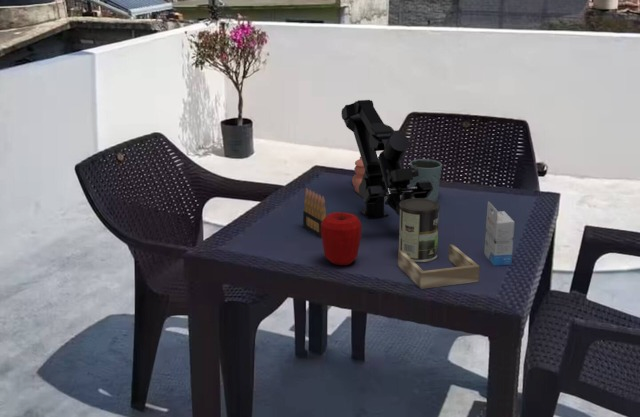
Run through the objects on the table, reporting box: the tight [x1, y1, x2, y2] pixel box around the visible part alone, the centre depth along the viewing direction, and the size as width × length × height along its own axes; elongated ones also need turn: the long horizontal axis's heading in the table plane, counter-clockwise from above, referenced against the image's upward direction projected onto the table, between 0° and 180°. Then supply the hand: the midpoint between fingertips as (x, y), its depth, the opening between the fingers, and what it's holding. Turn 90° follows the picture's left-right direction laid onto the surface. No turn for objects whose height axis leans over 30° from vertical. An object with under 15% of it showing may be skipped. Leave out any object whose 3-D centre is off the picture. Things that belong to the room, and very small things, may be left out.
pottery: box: [351, 156, 365, 195], centre depth 260 cm, size 18×10×10 cm, turn 18°
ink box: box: [483, 200, 516, 267], centre depth 201 cm, size 9×5×15 cm, turn 5°
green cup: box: [409, 158, 443, 202], centre depth 249 cm, size 10×10×12 cm
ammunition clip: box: [302, 187, 327, 239], centre depth 222 cm, size 11×2×12 cm, turn 30°
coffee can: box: [398, 198, 441, 263], centre depth 205 cm, size 10×10×14 cm
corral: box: [397, 244, 481, 290], centre depth 195 cm, size 15×15×4 cm
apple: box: [321, 211, 362, 266], centre depth 200 cm, size 11×10×14 cm
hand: (405, 220), depth 213 cm, fingers closed
